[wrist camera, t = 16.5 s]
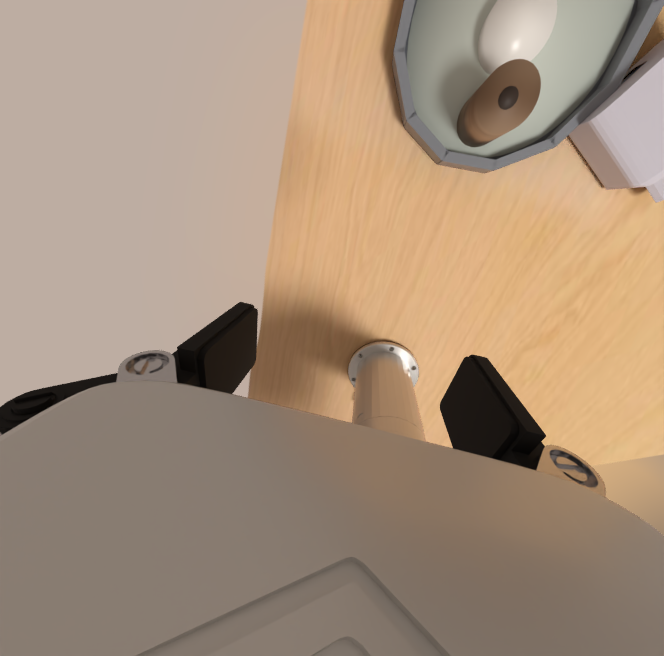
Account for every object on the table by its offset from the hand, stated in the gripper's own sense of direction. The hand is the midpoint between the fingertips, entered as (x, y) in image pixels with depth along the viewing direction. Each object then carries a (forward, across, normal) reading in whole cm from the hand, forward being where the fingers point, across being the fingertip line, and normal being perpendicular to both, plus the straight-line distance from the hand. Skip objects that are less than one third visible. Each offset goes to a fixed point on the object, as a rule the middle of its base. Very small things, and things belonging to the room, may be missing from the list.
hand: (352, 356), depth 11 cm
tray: (+28, -9, -23) cm, 38 cm away
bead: (+27, -9, -16) cm, 33 cm away
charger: (+29, -27, -17) cm, 43 cm away
